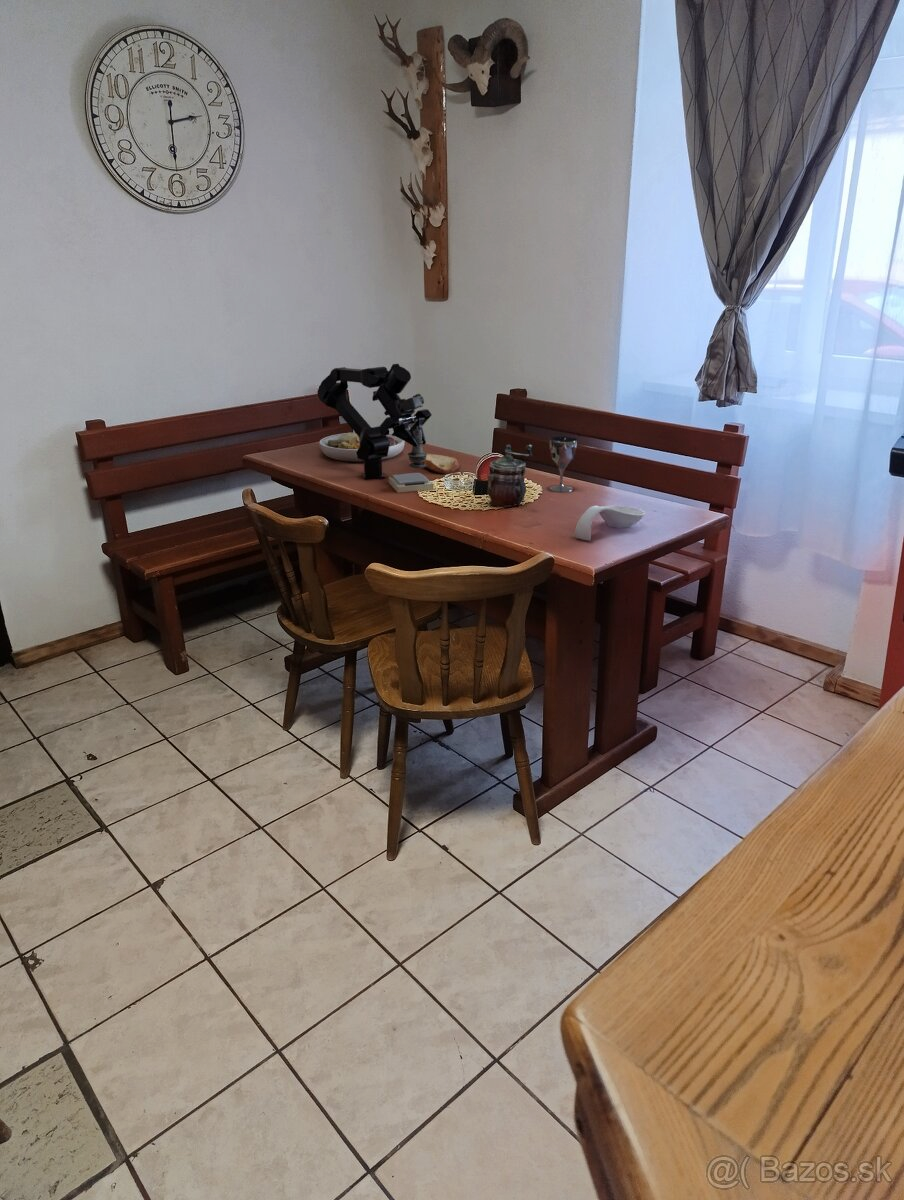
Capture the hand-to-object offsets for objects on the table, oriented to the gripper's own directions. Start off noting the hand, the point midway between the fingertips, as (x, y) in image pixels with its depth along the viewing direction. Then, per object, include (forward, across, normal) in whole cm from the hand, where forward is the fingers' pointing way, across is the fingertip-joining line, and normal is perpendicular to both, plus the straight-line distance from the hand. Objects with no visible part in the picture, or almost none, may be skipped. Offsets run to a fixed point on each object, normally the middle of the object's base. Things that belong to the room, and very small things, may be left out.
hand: (420, 444), depth 242 cm
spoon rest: (+55, -3, -37) cm, 66 cm away
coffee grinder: (+32, +2, -14) cm, 35 cm away
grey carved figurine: (+4, 0, +6) cm, 7 cm away
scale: (+7, 0, +12) cm, 14 cm away
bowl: (-22, +23, +43) cm, 53 cm away
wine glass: (+34, +24, -16) cm, 44 cm away
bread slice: (0, +24, +19) cm, 31 cm away
